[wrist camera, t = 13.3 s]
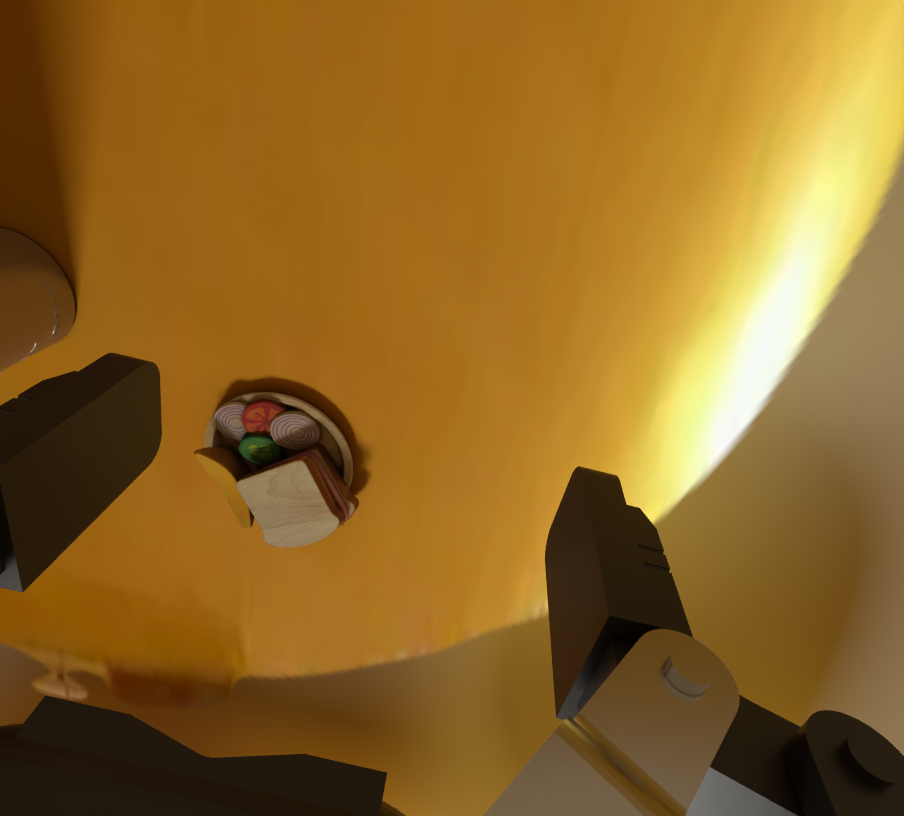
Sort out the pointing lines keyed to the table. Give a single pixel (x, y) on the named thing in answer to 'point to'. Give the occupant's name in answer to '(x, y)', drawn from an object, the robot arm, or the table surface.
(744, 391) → the table surface
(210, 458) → the toy sandwich meal
